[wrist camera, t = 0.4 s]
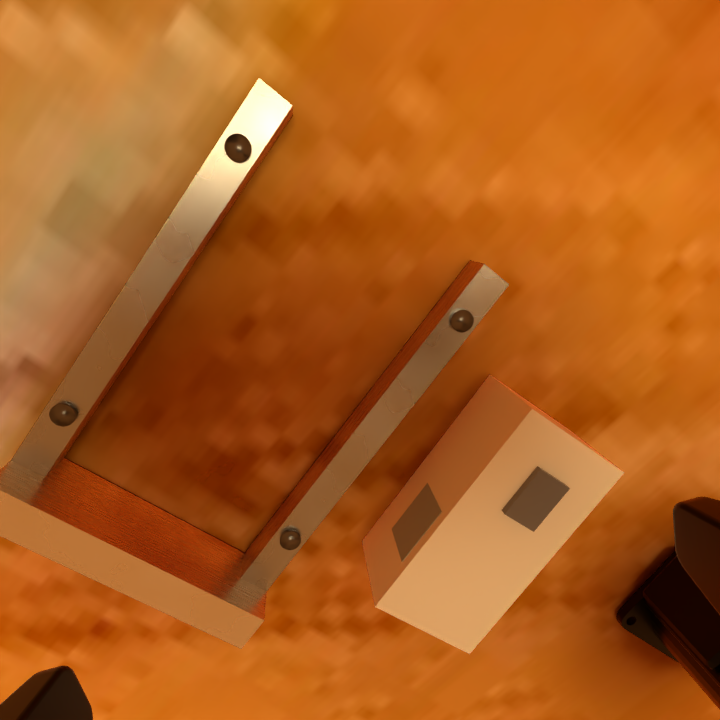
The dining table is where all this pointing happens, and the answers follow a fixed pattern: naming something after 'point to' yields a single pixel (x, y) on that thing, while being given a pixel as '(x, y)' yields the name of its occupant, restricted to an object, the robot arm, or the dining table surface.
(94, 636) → the dining table surface
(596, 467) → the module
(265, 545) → the bracket
